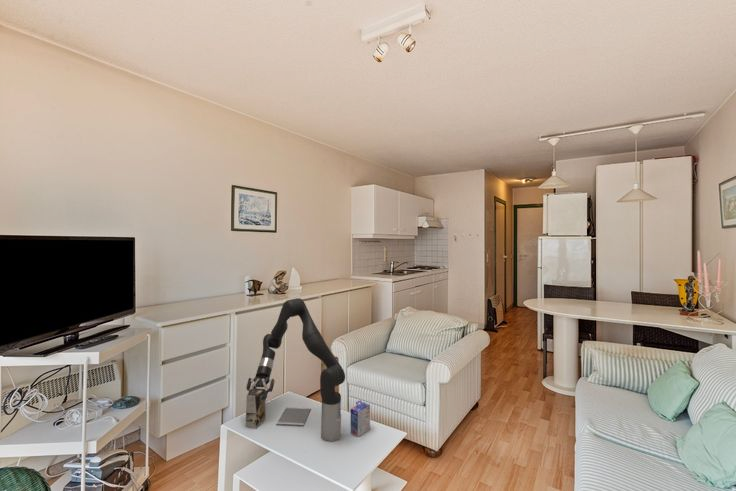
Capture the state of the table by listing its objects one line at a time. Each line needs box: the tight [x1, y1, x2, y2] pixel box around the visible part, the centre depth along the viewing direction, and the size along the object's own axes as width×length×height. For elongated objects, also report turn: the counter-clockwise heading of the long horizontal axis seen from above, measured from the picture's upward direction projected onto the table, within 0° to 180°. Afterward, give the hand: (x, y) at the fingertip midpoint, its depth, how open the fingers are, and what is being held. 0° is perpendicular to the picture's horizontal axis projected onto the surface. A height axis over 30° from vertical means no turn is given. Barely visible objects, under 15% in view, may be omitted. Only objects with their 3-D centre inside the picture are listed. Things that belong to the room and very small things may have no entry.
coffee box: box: [245, 387, 267, 429], centre depth 173 cm, size 9×6×16 cm
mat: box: [276, 406, 312, 427], centre depth 180 cm, size 14×18×1 cm
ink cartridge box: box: [350, 399, 371, 438], centre depth 168 cm, size 10×6×14 cm, turn 142°
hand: (256, 398), depth 173 cm, fingers closed on coffee box, 7 cm apart
